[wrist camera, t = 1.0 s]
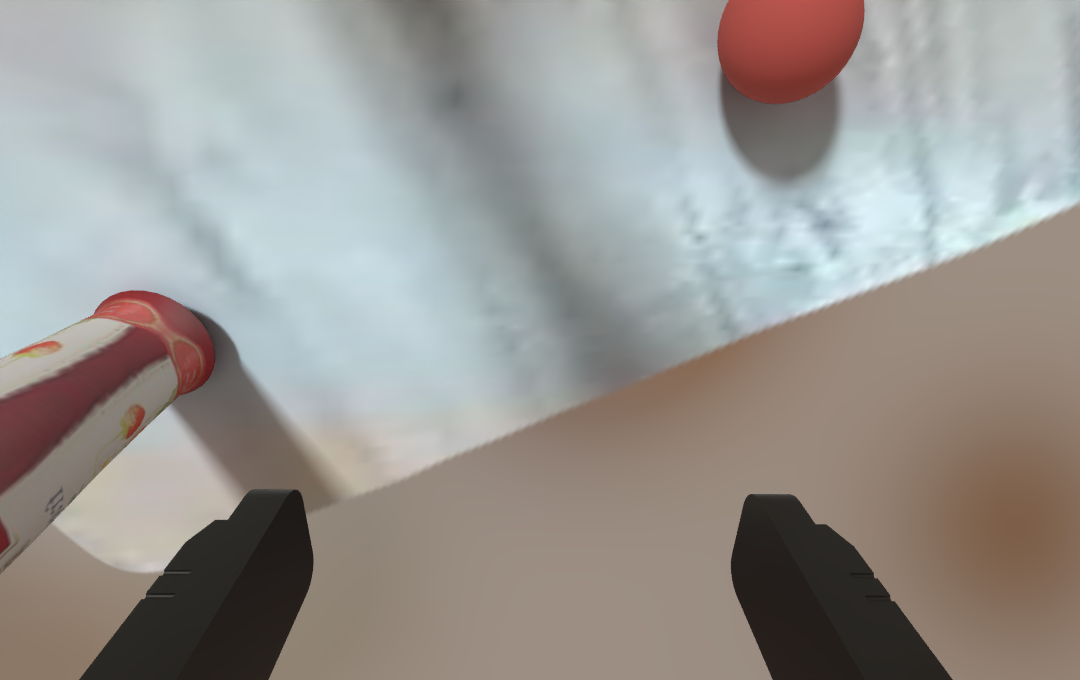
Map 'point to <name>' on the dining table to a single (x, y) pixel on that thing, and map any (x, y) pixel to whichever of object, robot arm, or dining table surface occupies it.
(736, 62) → the ball
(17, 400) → the red condiment bottle
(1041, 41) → the dining table surface
